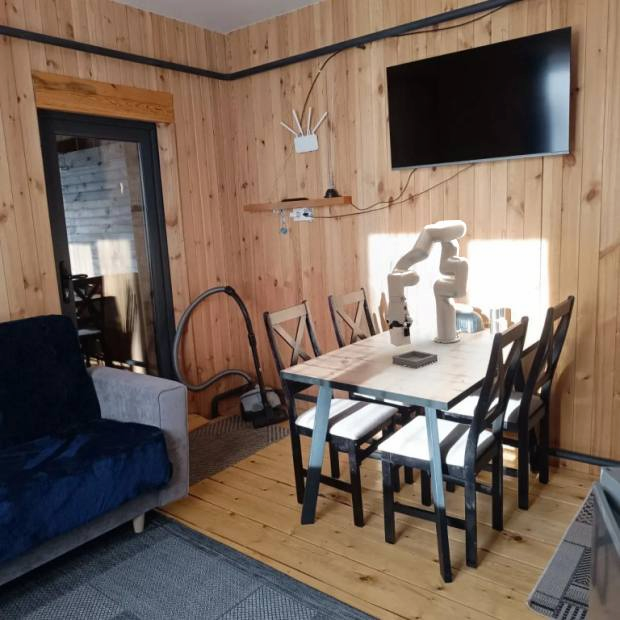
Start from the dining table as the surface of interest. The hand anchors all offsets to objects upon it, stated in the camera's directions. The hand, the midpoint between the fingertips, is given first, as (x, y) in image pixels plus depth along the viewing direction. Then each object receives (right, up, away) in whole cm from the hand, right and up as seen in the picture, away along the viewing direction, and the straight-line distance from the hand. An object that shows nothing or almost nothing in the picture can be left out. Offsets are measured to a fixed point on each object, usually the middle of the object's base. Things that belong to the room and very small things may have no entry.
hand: (399, 334), depth 276 cm
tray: (+5, -12, -14) cm, 19 cm away
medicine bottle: (+1, -4, +1) cm, 5 cm away
